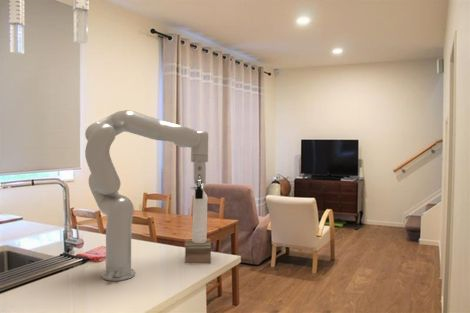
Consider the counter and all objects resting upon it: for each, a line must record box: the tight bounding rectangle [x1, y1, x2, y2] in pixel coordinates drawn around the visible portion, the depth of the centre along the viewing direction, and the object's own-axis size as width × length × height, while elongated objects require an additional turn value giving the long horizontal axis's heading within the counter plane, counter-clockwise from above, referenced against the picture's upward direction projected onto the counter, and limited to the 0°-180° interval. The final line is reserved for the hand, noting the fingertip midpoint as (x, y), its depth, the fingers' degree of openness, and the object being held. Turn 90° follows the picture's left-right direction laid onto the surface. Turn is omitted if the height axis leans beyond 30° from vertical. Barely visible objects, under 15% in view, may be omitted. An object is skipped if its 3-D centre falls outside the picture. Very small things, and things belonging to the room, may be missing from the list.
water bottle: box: [190, 186, 209, 244], centre depth 170 cm, size 9×6×25 cm
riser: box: [184, 238, 212, 264], centre depth 172 cm, size 11×11×8 cm
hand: (198, 197), depth 171 cm, fingers open, 9 cm apart
